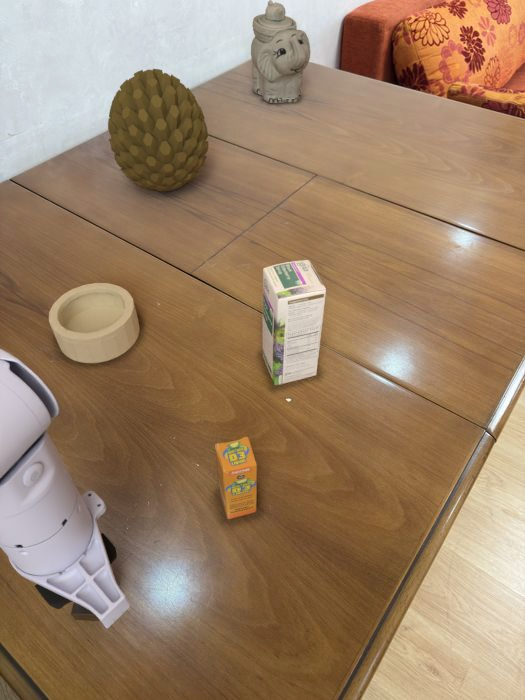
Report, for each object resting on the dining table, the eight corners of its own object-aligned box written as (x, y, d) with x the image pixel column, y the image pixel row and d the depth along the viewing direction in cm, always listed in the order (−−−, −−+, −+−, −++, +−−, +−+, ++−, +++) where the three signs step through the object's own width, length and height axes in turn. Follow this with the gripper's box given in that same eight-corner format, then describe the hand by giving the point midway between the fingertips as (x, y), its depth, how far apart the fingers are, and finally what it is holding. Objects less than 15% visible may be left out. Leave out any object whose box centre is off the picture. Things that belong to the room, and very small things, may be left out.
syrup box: (261, 354, 70) (259, 266, 59) (303, 344, 71) (309, 256, 61) (274, 387, 66) (275, 299, 56) (319, 376, 67) (328, 287, 57)
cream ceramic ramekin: (41, 349, 71) (30, 325, 68) (89, 299, 78) (82, 275, 74) (110, 373, 68) (102, 348, 65) (154, 318, 75) (149, 294, 72)
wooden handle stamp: (75, 619, 47) (44, 582, 41) (85, 582, 49) (57, 541, 43) (110, 621, 47) (85, 584, 40) (119, 584, 49) (96, 543, 43)
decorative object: (215, 163, 105) (207, 53, 90) (207, 211, 93) (195, 92, 79) (130, 163, 105) (108, 52, 91) (111, 210, 94) (82, 92, 79)
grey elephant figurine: (302, 115, 120) (306, 20, 106) (238, 108, 123) (234, 14, 109) (317, 87, 131) (323, -3, 117) (258, 81, 134) (257, -7, 120)
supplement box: (227, 523, 54) (220, 472, 47) (219, 493, 56) (212, 440, 49) (258, 514, 55) (257, 463, 47) (250, 485, 57) (247, 432, 50)
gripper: (151, 534, 33) (177, 607, 43) (28, 407, 40) (75, 495, 50) (52, 624, 30) (105, 681, 40) (-65, 468, 37) (6, 550, 46)
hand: (84, 582), depth 45 cm, fingers closed on wooden handle stamp, 2 cm apart
